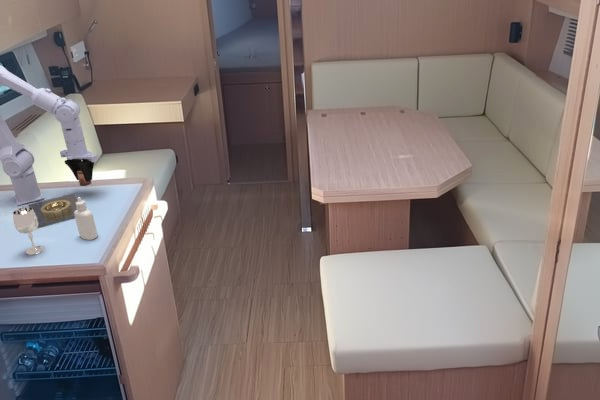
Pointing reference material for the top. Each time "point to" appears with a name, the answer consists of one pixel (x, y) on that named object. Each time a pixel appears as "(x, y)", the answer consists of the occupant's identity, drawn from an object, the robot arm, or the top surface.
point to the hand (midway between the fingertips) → (84, 179)
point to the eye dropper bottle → (85, 221)
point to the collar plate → (55, 209)
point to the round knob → (82, 178)
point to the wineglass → (27, 226)
